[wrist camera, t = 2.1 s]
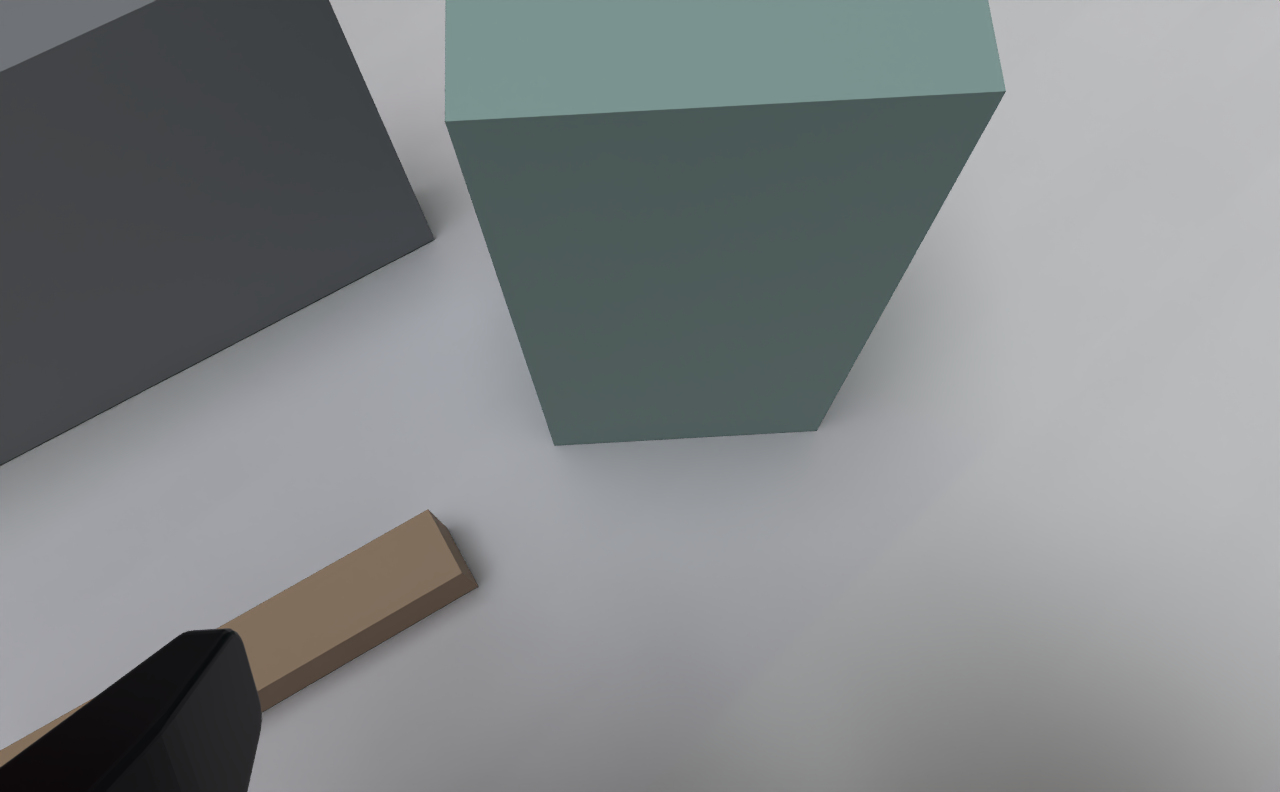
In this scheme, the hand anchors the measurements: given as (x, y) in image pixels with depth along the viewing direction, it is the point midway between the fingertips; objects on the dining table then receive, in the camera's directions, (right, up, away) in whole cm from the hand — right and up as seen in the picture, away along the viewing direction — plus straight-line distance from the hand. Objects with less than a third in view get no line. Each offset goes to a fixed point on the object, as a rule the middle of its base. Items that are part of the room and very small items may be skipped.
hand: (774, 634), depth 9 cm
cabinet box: (0, +3, +15) cm, 16 cm away
